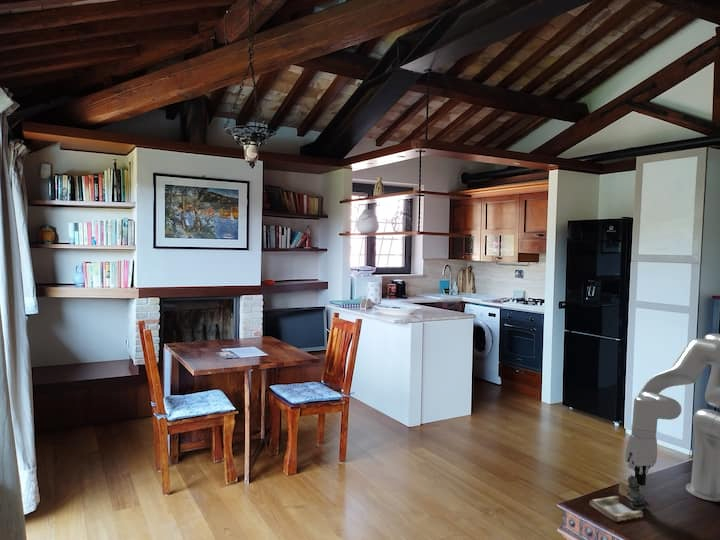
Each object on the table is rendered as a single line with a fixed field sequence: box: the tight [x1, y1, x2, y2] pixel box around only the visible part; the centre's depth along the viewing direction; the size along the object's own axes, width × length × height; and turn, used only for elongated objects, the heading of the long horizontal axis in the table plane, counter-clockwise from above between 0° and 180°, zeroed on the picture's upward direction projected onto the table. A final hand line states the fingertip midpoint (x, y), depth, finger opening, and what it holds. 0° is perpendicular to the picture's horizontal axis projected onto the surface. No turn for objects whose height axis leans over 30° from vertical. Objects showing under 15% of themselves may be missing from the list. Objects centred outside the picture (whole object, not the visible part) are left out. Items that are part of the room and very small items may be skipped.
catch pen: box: [589, 495, 644, 523], centre depth 181 cm, size 12×11×2 cm
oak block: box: [618, 478, 642, 498], centre depth 192 cm, size 5×5×5 cm
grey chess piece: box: [626, 474, 647, 511], centre depth 183 cm, size 6×6×12 cm
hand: (639, 483), depth 184 cm, fingers closed
